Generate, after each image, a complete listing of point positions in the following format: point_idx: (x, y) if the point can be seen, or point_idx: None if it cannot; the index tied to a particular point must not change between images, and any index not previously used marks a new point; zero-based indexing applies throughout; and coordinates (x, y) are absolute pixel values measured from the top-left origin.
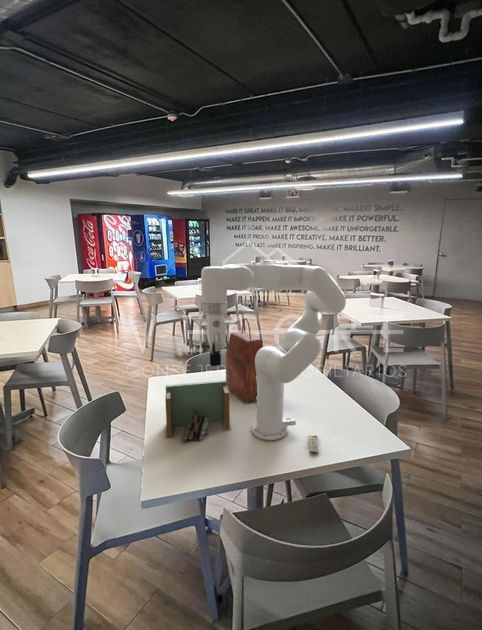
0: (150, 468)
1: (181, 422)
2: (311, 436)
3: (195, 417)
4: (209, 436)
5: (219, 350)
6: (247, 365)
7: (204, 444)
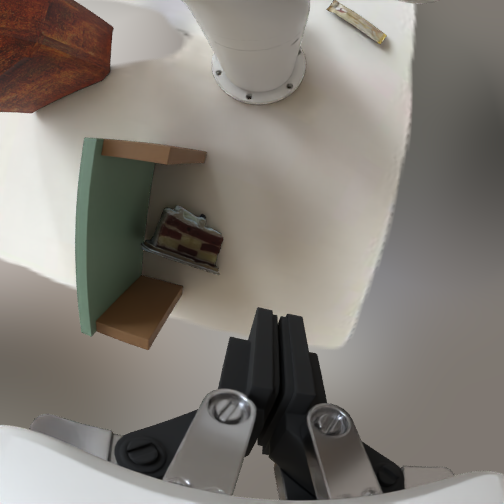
0: None
1: (140, 256)
2: (330, 7)
3: (164, 241)
4: (214, 209)
5: (359, 450)
6: (39, 46)
7: (242, 230)
